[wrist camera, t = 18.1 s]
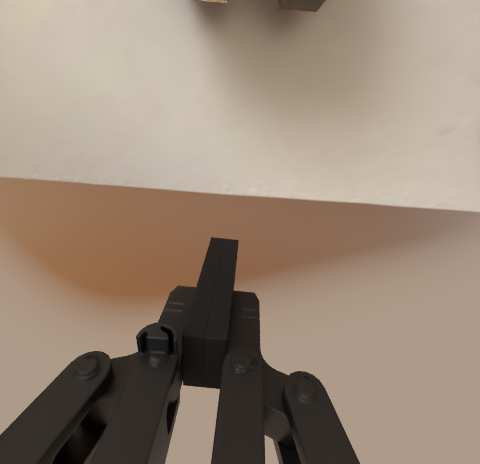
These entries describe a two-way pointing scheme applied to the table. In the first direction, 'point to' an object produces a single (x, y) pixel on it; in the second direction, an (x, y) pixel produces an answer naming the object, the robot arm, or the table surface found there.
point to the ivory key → (221, 0)
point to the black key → (301, 4)
